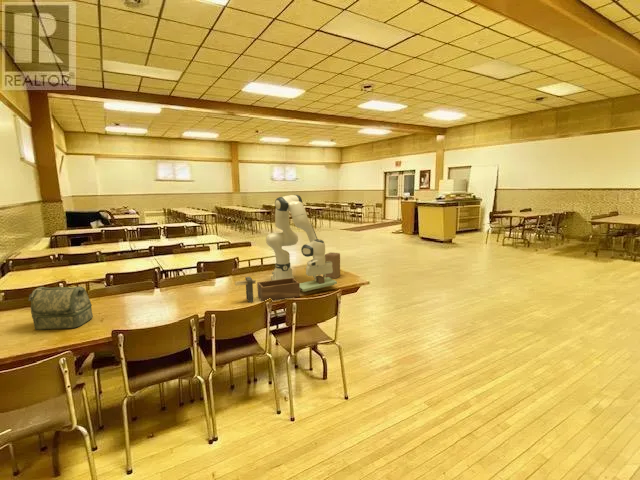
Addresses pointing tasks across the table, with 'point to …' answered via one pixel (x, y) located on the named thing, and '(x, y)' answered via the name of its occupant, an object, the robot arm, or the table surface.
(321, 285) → the lid
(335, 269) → the wooden block
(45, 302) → the lunch bag
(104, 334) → the table surface
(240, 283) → the bolt
